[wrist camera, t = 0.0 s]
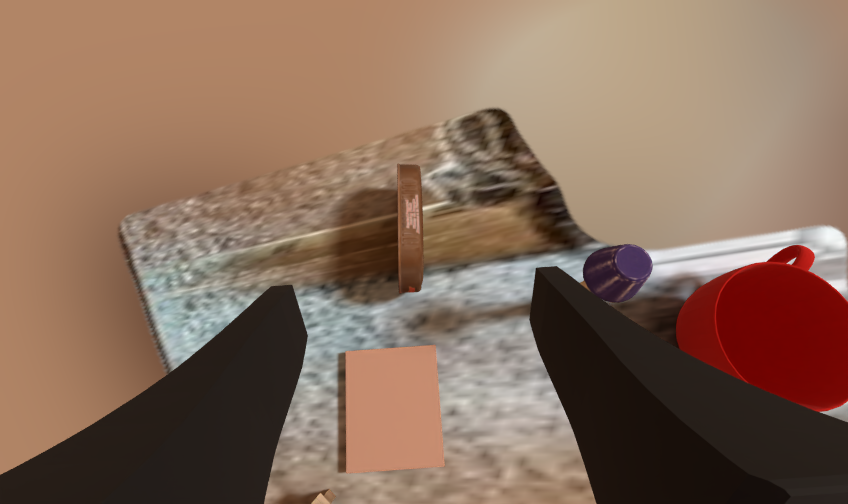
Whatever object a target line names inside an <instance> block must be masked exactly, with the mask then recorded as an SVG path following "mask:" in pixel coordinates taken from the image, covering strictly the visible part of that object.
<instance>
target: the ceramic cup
mask: <svg viewBox="0 0 848 504" xmlns="http://www.w3.org/2000/svg"><path fill="white" fill-rule="evenodd" d="M796 257H797V258H796ZM794 258H796V259H795V261H794V263H793V264H792V265H790V264H786V263H788V262H789V261H791V260H792V259H794ZM814 258H815V256H814V253H813V252H812V251H811V250H810V249H809V248H807V247H804V246H801V245H793V246H789V247H787V248H785V249H783V250H781V251H779V252H778V253H776V254H775V255H774V256H773V257H771V258H770V259H769V260H768V261H767V262H762V263H754V264H750V265H747V266H744V267H741V268H738V269H735V270H733V271H730V272H728V273H725V274H723V275H721V276H719V277H717V278H715V279H713V280H711V281H710V282H708V283H706V284H705V285H703V286H701V287H700V288H699V289H697V290H696V291H695V292H694V293H693V294H692V295H691V296H690V297H689V298H688V299H687V300H686V302H685V303H684V305H683V306H682V308H681V310H680V312H679V315H678V318H677V323H676V337H677V342H678V345H679V348H680V350H682V351H684V352H686V353H687V354H689V355H691V356H693V357H695V358H697V359H699V360H701V361H703V362H705V363H707V364H709V365H711V366H713V367H715V368H717V369H719V370H721V371H723V372H725V373H728V374H730V375H732V376H734V377H736V378H738V379H740V380H742V381H745V382H747V383H749V384H751V385H754V386H756V387H758V388H761V389H763V390H765V391H767V392H770V393H772V394H775V395H777V396H780V397H782V398H785V399H787V400H789V401H792V402H794V403H797V404H799V405H802V406H804V407H807V408H809V409H812V410H814V411H817V412H822V411H828V410H831V409H834V408H837V407H839V406H842V405H843V404H844V403H846V402H847V401H848V302H847V301H846V299H845V298H844V297H843V296H842V295H841V294H840V293H839V292H838V291H837V290H836V289H835V288H834V287H832V286H831V285H830V284H829V283H828V282H826V281H825V280H823V279H822V278H820V277H819V276H817V275H815V274H814V273H812V272H809V271H808V270H809V269H810V267H811V266H812V264H813V262H814Z"/></svg>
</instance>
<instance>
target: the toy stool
mask: <svg viewBox="0 0 848 504" xmlns="http://www.w3.org/2000/svg"><path fill="white" fill-rule="evenodd" d="M335 497H336V496H335V495H334V494H333V493H332V491H331V490H330V489H329V490H328V491H327V492H326V493H325V495H324V496H323V495H322V494H321V493H320V494H319V495H318V496H317V497H316V499H315V500H314V501H313V502H312V503H311V504H331V503H332V501H333V500H334V498H335Z"/></svg>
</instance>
